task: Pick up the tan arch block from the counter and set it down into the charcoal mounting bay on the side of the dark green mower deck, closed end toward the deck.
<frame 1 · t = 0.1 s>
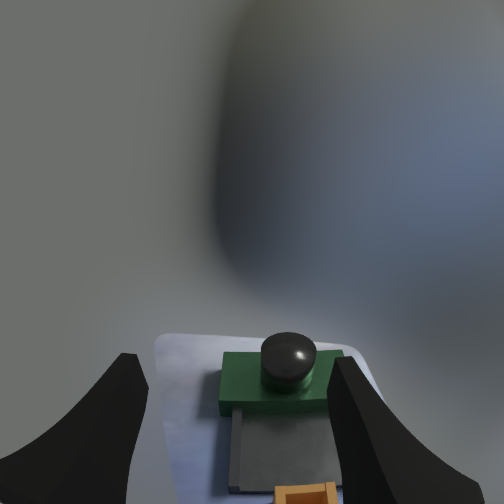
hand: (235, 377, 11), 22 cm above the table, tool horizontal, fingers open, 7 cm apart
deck: (294, 451, 28), on the table
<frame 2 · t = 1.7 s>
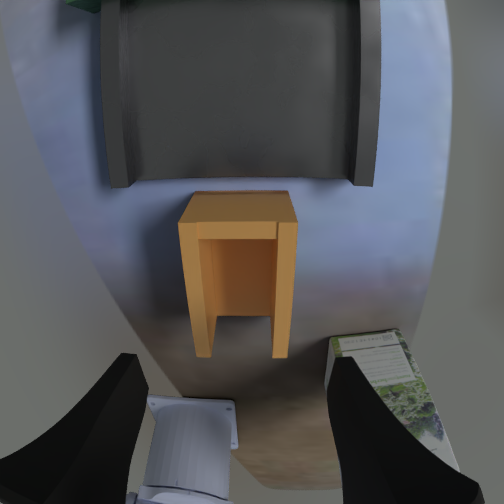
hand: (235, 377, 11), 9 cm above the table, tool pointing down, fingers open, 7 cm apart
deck: (239, 78, 14), on the table
syrup box: (359, 354, 23), on the table
tan arch block: (242, 254, 19), on the table
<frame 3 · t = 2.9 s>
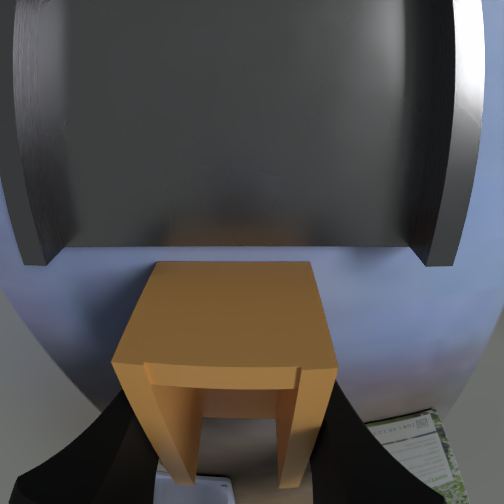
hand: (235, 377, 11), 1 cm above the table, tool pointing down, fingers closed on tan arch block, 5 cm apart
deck: (227, 65, 7), on the table
syrup box: (384, 434, 17), on the table
tan arch block: (236, 349, 12), on the table, touching gripper
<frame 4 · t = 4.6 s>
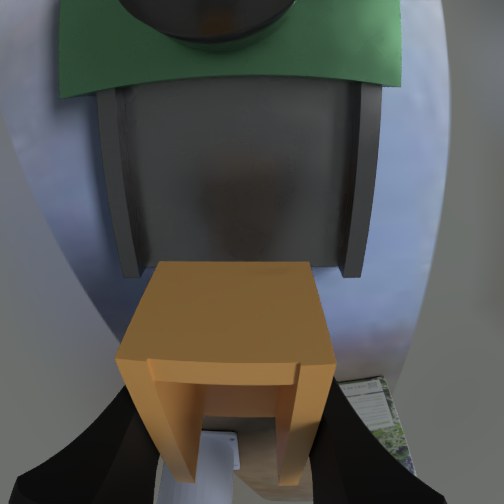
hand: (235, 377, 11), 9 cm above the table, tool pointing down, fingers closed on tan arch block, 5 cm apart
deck: (239, 174, 16), on the table
syrup box: (348, 395, 25), on the table
tan arch block: (236, 348, 12), point 7 cm above the table, touching gripper
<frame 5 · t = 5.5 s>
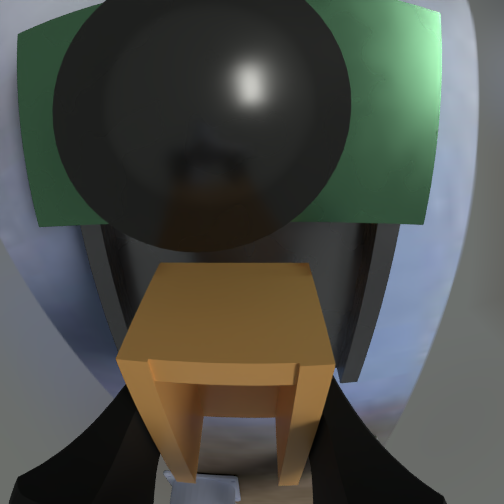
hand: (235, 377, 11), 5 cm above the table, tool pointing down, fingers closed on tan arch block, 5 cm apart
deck: (240, 291, 16), on the table
tan arch block: (236, 349, 12), point 4 cm above the table, touching gripper
when the fingers open (3 cm above the table, at t = 6.4 s): tan arch block stays where it is, resting on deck.
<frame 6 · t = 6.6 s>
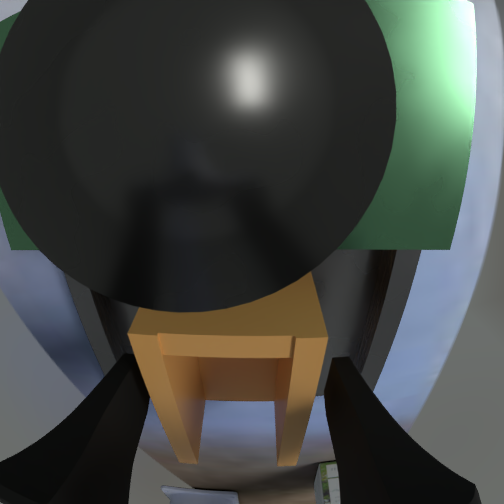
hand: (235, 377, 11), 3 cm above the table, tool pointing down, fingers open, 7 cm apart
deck: (238, 317, 14), on the table
syrup box: (345, 466, 23), on the table
tan arch block: (237, 332, 13), point 1 cm above the table, touching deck
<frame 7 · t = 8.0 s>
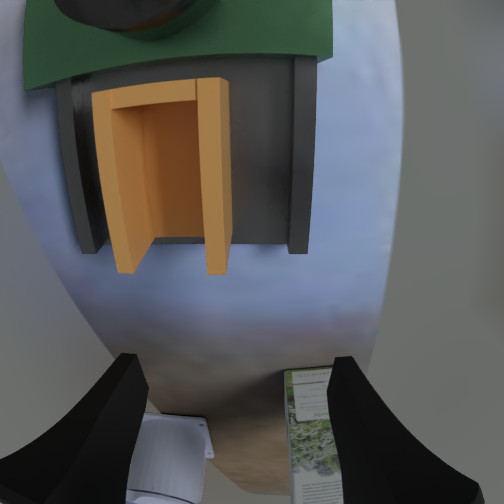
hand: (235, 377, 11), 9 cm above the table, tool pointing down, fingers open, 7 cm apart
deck: (185, 153, 16), on the table
syrup box: (316, 383, 26), on the table
tan arch block: (182, 160, 16), point 1 cm above the table, touching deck
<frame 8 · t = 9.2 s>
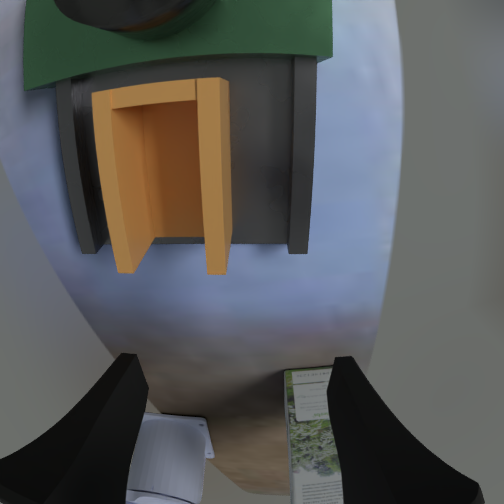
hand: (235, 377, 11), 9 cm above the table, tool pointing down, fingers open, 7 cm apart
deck: (185, 153, 16), on the table
syrup box: (316, 383, 26), on the table
tan arch block: (182, 160, 16), point 1 cm above the table, touching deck
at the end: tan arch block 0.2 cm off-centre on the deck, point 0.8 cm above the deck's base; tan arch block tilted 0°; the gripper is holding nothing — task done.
